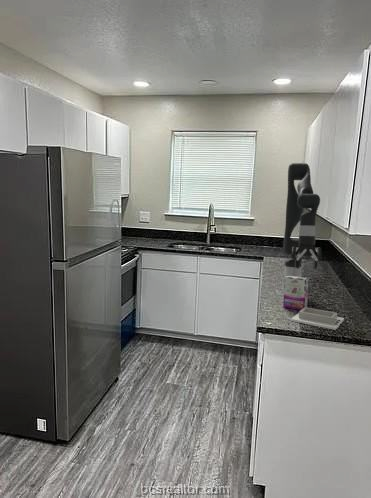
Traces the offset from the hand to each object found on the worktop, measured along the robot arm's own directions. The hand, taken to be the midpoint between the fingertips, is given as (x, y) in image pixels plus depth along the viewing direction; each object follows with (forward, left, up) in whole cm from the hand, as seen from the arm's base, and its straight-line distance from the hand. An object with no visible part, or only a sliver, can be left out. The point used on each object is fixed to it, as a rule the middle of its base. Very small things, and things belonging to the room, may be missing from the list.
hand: (305, 268), depth 181 cm
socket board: (+6, +9, -23) cm, 25 cm away
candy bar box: (-7, -6, -23) cm, 25 cm away
